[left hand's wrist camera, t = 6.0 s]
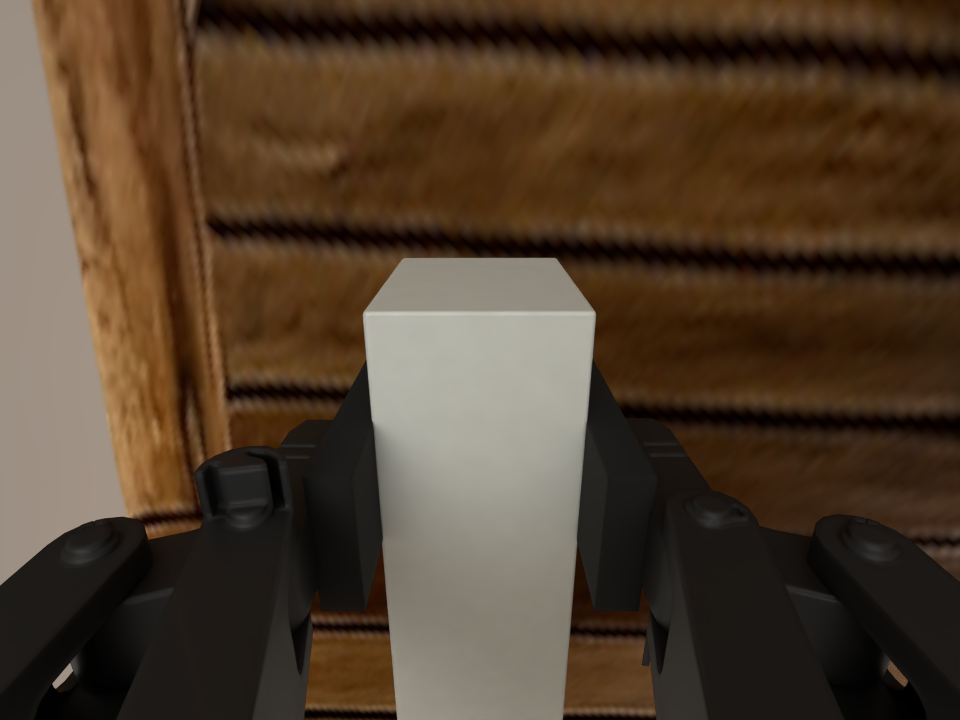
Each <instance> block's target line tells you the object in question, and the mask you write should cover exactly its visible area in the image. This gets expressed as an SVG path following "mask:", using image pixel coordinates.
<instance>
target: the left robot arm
mask: <svg viewBox="0 0 960 720" xmlns="http://www.w3.org/2000/svg"><path fill="white" fill-rule="evenodd" d="M194 477H195V482H196V486H197V490H198V495H199V499H200V503H201V508H202V512H203V516H204V520H203V523H202V525H201V527H200V528H199V529H196V530H192V531H188V532H184V533H179V534H174V535H170V536H165V537H160V538H155V539H150V540H148V537H147V534H146V530H145V527H144V525H143V524H142V523H140V522H139V521H138V520H137V519H132V518H127V517H115V518H104V519H100V520H96V521H94V522H93V521H91V522H88V523H86V524H83V525H81V526H79V527H77V528H75V529H73V530H70V531H68V532H66V533H64V534H63V535H61V536H60V537H58V538H57V539H55V540H54V541H52V542H51V543H50V544H48V545H47V546H46V547H44V548H43V549H42V550H41V551H40V552H39V553H38V554H36V555H35V556H34V557H33V558H32V559H31V560H29V561H28V562H27V563H26V564H25V565H24V566H22V567H21V568H20V569H19V570H18V571H17V572H16V573H14V574H13V575H12V576H11V577H10V578H8V579H7V580H6V581H5V582H4V583H3V584H2V585H0V720H304V711H305V702H306V693H307V683H308V674H309V665H310V655H311V646H312V637H313V629H312V622H311V615H310V607H311V604H312V602H313V599H314V596H315V594H316V591H317V588H318V592H319V599H320V605H321V611H365V609H366V605H367V601H368V597H369V593H370V589H371V585H372V581H373V577H374V573H375V569H376V565H377V561H378V557H379V553H380V549H381V545H382V541H383V536H382V524H381V512H380V500H379V488H378V476H377V464H376V452H375V440H374V428H373V422H372V416H371V405H370V393H369V381H368V369H367V360H366V361H365V363H364V365H363V367H362V369H361V371H360V372H359V374H358V376H357V378H356V380H355V381H354V383H353V385H352V387H351V389H350V391H349V392H348V394H347V396H346V398H345V400H344V401H343V403H342V405H341V407H340V409H339V411H338V412H337V414H336V416H335V418H334V420H306V421H305V422H303V423H302V424H300V425H299V426H297V427H296V428H294V429H293V430H291V431H290V432H289V433H288V435H287V436H286V438H285V439H284V441H283V442H282V443H281V445H280V448H278V449H275V448H271V447H267V446H247V447H242V448H237V449H232V450H229V451H226V452H224V453H221V454H218V455H215V456H214V457H212V458H211V459H209V460H207V461H206V462H204V463H202V464H201V465H200V467H199V468H198V469H197V470H196V471H195V472H194ZM577 543H578V547H579V551H580V555H581V559H582V563H583V567H584V571H585V575H586V579H587V583H588V587H589V591H590V595H591V599H592V603H593V607H594V611H638V610H639V603H640V596H641V589H642V587H643V590H644V592H645V595H646V598H647V600H648V603H649V606H650V608H651V609H650V615H649V622H648V628H647V635H646V641H645V648H644V654H643V661H642V665H644V666H649V662H650V663H651V673H652V682H653V691H654V701H655V710H656V719H657V720H960V582H959V581H958V580H956V579H955V578H954V577H953V576H952V575H950V574H949V573H948V572H947V571H946V570H945V569H943V568H942V567H941V566H940V565H939V564H938V563H936V562H935V561H934V560H933V559H932V558H931V557H929V556H928V555H927V554H926V553H925V552H924V551H922V550H921V549H920V548H919V547H918V546H917V545H915V544H914V543H913V542H912V541H910V540H909V539H907V538H906V537H904V536H903V535H901V534H900V533H898V532H897V531H895V530H893V529H891V528H889V527H886V526H884V525H882V524H880V523H879V522H876V521H873V520H870V519H865V518H863V517H858V516H850V515H839V514H837V515H831V516H826V517H823V518H822V519H820V520H819V521H818V522H817V523H816V525H815V528H814V532H813V535H812V538H811V537H806V536H802V535H797V534H792V533H787V532H782V531H777V530H773V529H769V528H765V527H761V526H759V524H758V522H757V520H756V518H755V516H754V515H753V514H752V512H751V511H750V510H749V508H748V507H746V506H745V505H743V504H742V503H741V502H739V501H738V500H736V499H735V498H732V497H730V496H728V495H725V494H723V493H721V492H717V491H712V490H711V488H710V487H709V485H708V484H707V483H706V481H705V480H704V478H703V477H702V475H701V474H700V472H699V471H698V469H697V468H696V467H695V465H694V464H693V462H692V461H691V459H690V458H689V457H687V453H686V452H685V451H684V449H683V448H682V446H679V442H678V440H677V439H676V438H675V436H674V435H673V433H672V432H671V430H670V429H668V428H667V427H665V426H664V425H662V424H661V423H659V422H658V421H656V420H655V419H653V418H625V417H624V415H623V413H622V411H621V410H620V408H619V406H618V404H617V402H616V400H615V399H614V397H613V395H612V393H611V391H610V390H609V388H608V386H607V384H606V382H605V380H604V379H603V377H602V375H601V373H600V371H599V370H598V368H597V366H596V364H595V362H594V360H593V359H592V370H591V382H590V394H589V407H588V419H587V422H586V434H585V446H584V458H583V470H582V482H581V494H580V506H579V518H578V531H577ZM890 660H891V661H892V662H893V663H894V665H895V666H896V667H897V668H898V669H899V671H900V672H901V673H902V674H903V675H904V676H905V678H906V679H907V680H908V683H907V685H906V686H905V687H904V686H902V685H901V684H900V683H899V682H898V681H897V680H896V679H895V678H894V676H893V675H892V674H891V673H890V672H889V670H888V669H887V667H888V665H889V662H890ZM69 663H71V666H72V669H73V672H72V673H71V674H70V675H69V677H68V678H67V679H66V680H65V681H64V682H63V683H62V684H61V685H60V686H59V687H58V688H56V689H55V688H54V687H53V685H52V683H53V682H54V681H55V680H56V679H57V677H58V676H59V675H60V674H61V673H62V671H63V670H64V669H65V668H66V667H67V666H68V664H69Z"/></svg>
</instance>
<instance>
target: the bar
mask: <svg viewBox="0 0 960 720" xmlns="http://www.w3.org/2000/svg"><path fill="white" fill-rule="evenodd" d="M595 322H596V313H595V311H594V310H593V308H592V307H591V306H590V304H589V303H588V301H587V300H586V299H585V297H584V296H583V295H582V293H581V292H580V290H579V289H578V288H577V286H576V285H575V284H574V282H573V281H572V279H571V278H570V277H569V275H568V274H567V273H566V271H565V270H564V268H563V267H562V266H561V264H560V263H559V262H558V260H557V259H556V258H404V259H402V261H401V262H400V263H399V265H398V266H397V267H396V269H395V270H394V271H393V273H392V274H391V276H390V277H389V278H388V280H387V281H386V282H385V284H384V285H383V287H382V288H381V289H380V291H379V292H378V293H377V295H376V296H375V297H374V299H373V300H372V302H371V303H370V304H369V306H368V307H367V308H366V310H365V311H364V313H363V323H364V334H365V346H366V358H367V369H368V381H369V393H370V405H371V416H372V422H373V428H374V440H375V452H376V464H377V476H378V488H379V500H380V512H381V524H382V536H383V541H382V545H383V557H384V569H385V581H386V592H387V604H388V616H389V627H390V639H391V651H392V663H393V674H394V686H395V698H396V710H397V720H563V710H564V697H565V685H566V673H567V661H568V649H569V637H570V625H571V613H572V600H573V588H574V576H575V564H576V552H577V531H578V518H579V506H580V494H581V482H582V470H583V458H584V446H585V434H586V422H587V419H588V407H589V394H590V382H591V370H592V358H593V346H594V334H595Z"/></svg>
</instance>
